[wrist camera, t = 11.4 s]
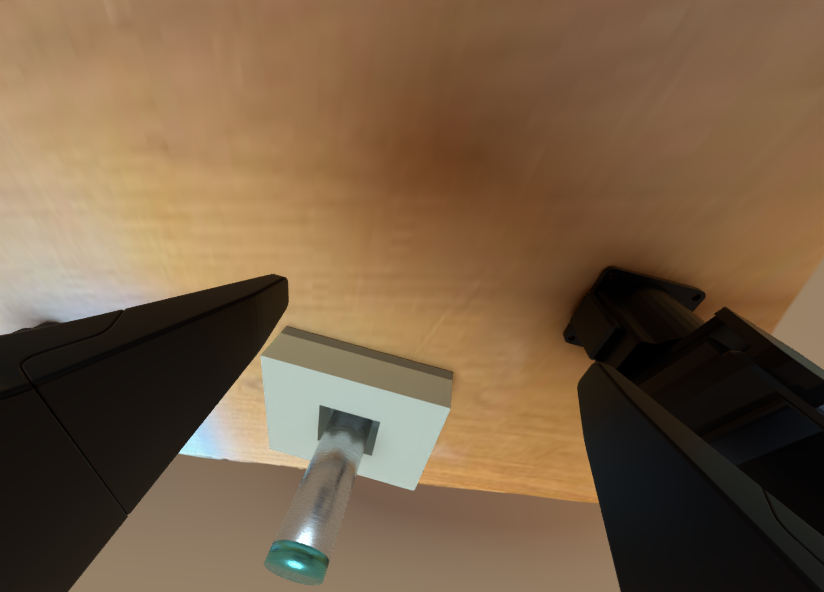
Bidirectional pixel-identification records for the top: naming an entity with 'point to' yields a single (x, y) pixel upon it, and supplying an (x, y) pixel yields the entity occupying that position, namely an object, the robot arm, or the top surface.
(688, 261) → the top surface
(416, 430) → the socket block
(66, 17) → the top surface
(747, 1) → the top surface
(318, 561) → the pin
